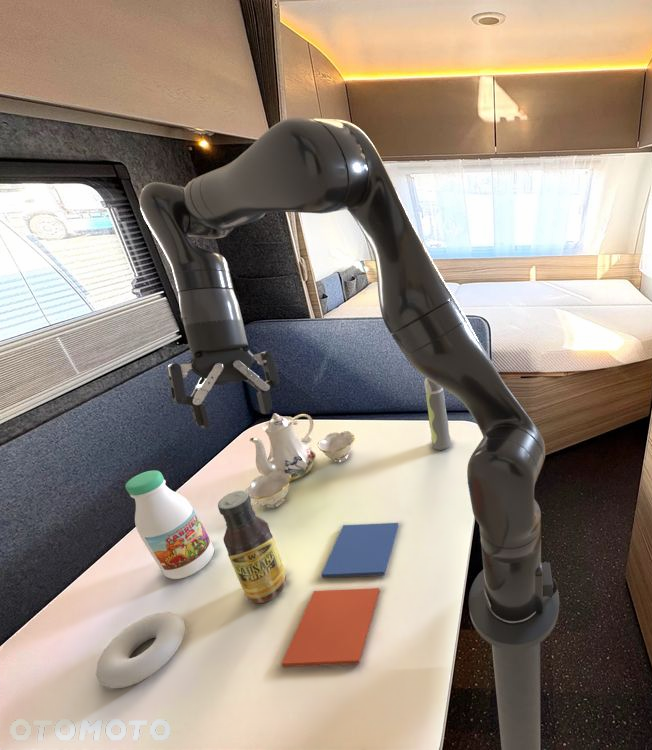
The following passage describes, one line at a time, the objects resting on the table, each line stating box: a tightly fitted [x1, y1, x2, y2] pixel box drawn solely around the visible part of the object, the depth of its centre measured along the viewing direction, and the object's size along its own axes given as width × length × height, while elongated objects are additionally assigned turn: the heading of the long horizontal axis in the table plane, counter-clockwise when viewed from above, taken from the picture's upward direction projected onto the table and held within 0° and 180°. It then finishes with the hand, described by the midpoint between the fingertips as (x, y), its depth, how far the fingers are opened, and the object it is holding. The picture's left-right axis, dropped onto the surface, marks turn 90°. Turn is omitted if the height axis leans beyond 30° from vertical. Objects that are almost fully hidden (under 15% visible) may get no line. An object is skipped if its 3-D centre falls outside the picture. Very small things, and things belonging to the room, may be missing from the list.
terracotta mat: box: [281, 587, 381, 668], centre depth 60 cm, size 11×11×1 cm
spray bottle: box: [423, 377, 452, 451], centre depth 97 cm, size 5×5×20 cm
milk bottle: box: [125, 470, 215, 580], centre depth 67 cm, size 8×8×20 cm
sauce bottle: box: [217, 490, 287, 604], centre depth 62 cm, size 7×6×20 cm
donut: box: [95, 611, 186, 689], centre depth 57 cm, size 10×4×10 cm
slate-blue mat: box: [320, 522, 399, 578], centre depth 72 cm, size 11×11×1 cm
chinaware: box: [245, 412, 356, 509], centre depth 90 cm, size 28×17×17 cm, turn 154°
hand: (237, 420), depth 63 cm, fingers open, 8 cm apart
